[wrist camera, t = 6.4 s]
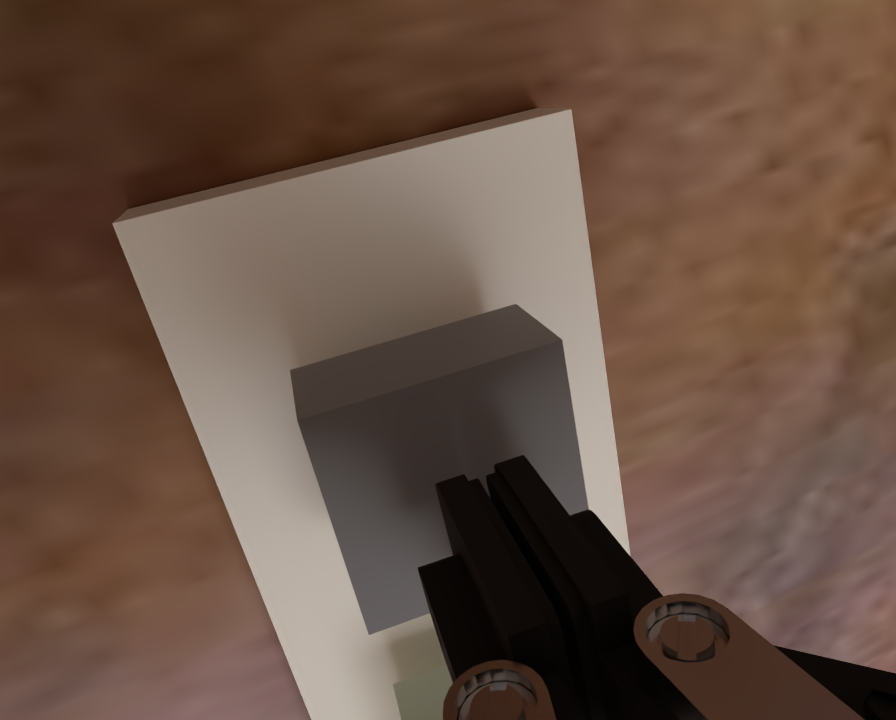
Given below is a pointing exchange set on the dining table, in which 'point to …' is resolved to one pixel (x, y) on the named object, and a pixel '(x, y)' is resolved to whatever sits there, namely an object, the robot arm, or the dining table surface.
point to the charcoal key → (431, 441)
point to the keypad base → (362, 344)
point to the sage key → (423, 695)
